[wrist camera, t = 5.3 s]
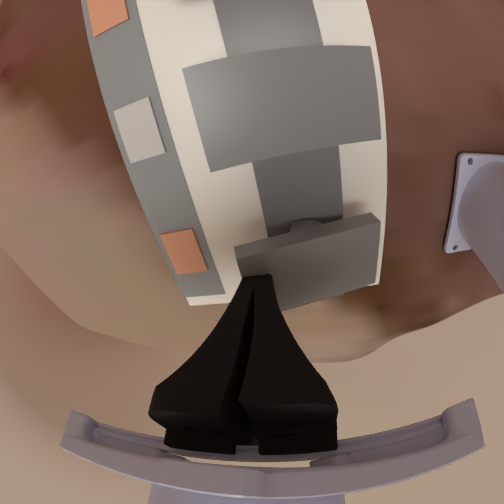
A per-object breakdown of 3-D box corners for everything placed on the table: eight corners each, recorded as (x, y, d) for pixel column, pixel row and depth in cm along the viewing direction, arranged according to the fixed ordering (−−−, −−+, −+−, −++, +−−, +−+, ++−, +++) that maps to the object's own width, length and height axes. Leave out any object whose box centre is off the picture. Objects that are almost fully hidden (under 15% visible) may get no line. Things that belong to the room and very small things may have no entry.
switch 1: (349, 49, 9) (370, 46, 7) (360, 131, 11) (381, 139, 10) (186, 71, 9) (181, 68, 7) (210, 160, 11) (210, 172, 10)
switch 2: (363, 205, 13) (380, 221, 12) (361, 263, 16) (375, 282, 14) (232, 237, 13) (235, 259, 12) (249, 295, 16) (254, 318, 14)
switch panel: (320, -90, 4) (328, -112, 2) (373, 270, 19) (384, 299, 17) (90, -31, 6) (63, -39, 4) (192, 291, 21) (184, 320, 19)
